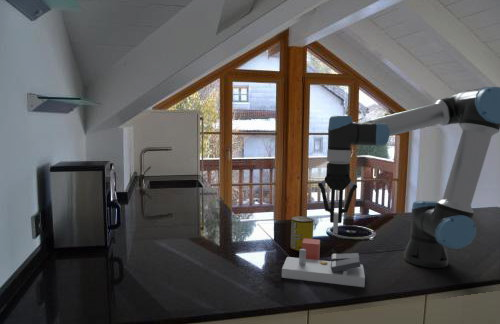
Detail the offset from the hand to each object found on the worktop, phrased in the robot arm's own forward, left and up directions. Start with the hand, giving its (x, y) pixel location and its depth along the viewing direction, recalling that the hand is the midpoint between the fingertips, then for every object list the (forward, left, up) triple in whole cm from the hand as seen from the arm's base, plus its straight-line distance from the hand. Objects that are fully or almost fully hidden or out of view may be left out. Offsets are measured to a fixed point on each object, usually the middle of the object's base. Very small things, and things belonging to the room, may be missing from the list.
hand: (335, 232), depth 128 cm
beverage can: (+13, -25, -14) cm, 32 cm away
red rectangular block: (+8, -8, -14) cm, 18 cm away
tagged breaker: (-4, 0, -9) cm, 9 cm away
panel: (+3, +3, -14) cm, 15 cm away
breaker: (-4, +6, -9) cm, 11 cm away
